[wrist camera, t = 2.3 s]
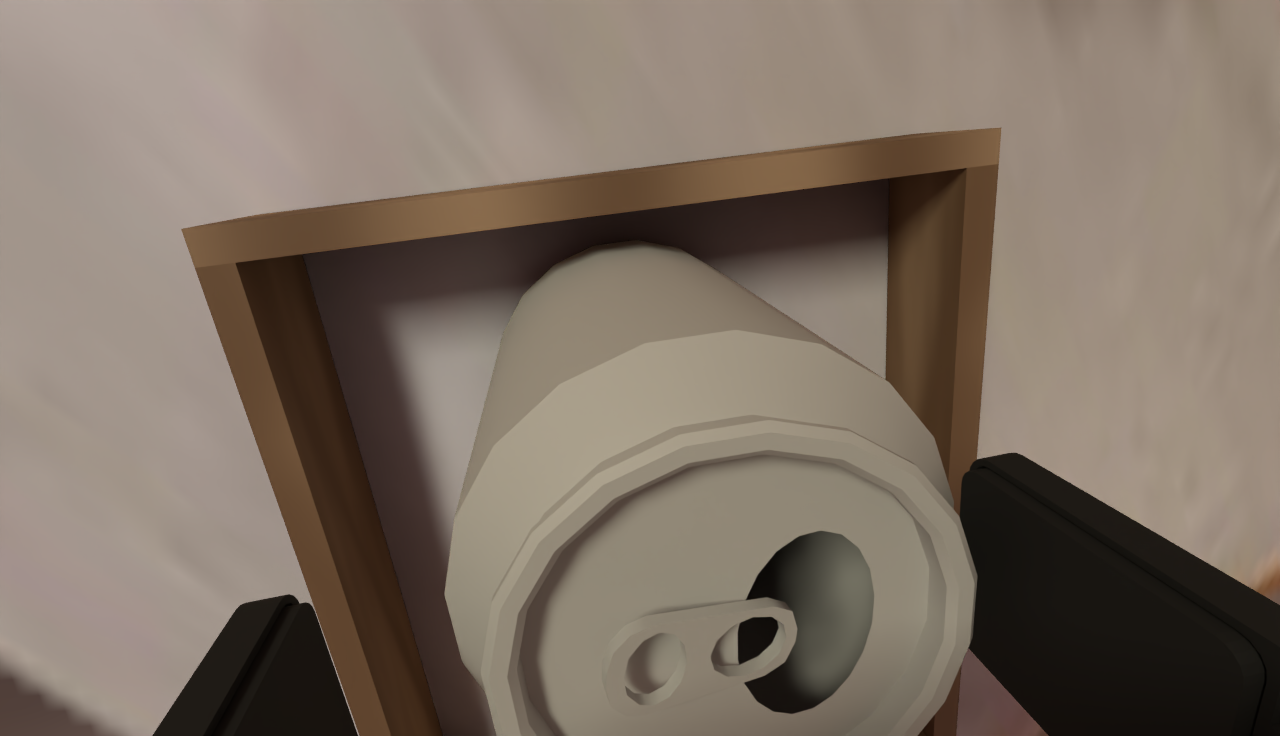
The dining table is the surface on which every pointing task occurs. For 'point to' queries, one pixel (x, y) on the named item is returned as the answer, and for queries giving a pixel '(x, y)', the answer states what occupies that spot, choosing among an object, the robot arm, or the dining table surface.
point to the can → (699, 520)
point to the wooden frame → (274, 243)
